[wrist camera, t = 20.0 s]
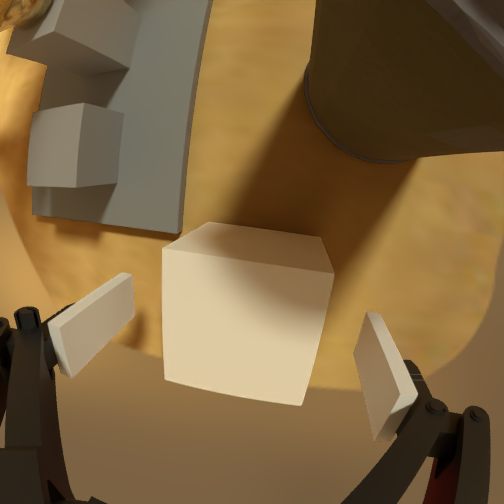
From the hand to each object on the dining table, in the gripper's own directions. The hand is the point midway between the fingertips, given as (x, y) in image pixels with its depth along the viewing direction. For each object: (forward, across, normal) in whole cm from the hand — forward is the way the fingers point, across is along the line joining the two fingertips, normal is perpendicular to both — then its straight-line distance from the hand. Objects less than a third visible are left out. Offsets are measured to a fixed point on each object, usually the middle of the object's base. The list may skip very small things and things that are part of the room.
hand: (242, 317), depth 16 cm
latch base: (+7, -14, +12) cm, 20 cm away
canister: (+7, +7, +14) cm, 18 cm away
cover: (+7, 0, 0) cm, 7 cm away
